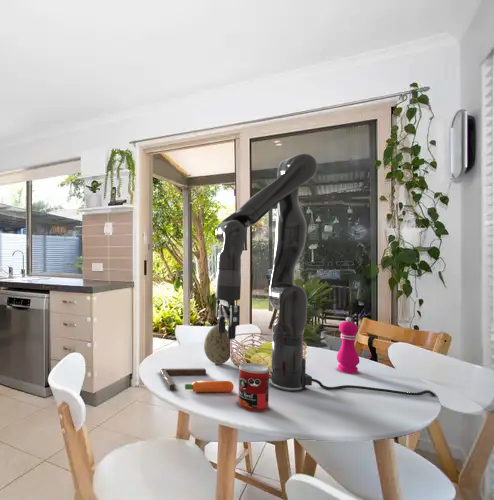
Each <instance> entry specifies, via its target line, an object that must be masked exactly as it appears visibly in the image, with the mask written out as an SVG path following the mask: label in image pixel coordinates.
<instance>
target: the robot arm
mask: <svg viewBox="0 0 494 500" xmlns="http://www.w3.org/2000/svg"><path fill="white" fill-rule="evenodd" d="M317 172H318V161H317V159H316V158H315V157H314V156H313V155H312V154H310V153H297V154H295V155H293V156H290V157H288V158H285V159H283V160H282V161H280V163H279V165H278V167H277V173H276V177H277V178H276V179H275V180H274V181H272V182H271V183H270V184H268V185H267V186H265V187H263V188H262V189H261V190H259V191H257V192H256V193H254V195H253V196H251V197H250V198H249V199H248V200H247V201H246V202H245V203H244V204H242V205H241V206H240V207H239V208H238V209H237V210H236V211H234V212H233V213H230V215H228V216H227V217H226V218H224V219H223V220H222V221H221V222H219V224H218V225H217V227H216V229H215V234H214V235H215V238H216V239H217V241H219V242H220V243H222V244H223V246H222V247H223V248H222V250H221V251H219V252H218V254H217V264H216V265H217V268H216V275H215V294H214V296H215V299H216V301H215V316H214V317H215V319H217V325H218V332H219V333H225V329H226V322H227V331H228V335H227V337H228V338H229V339H231V340H235V339H236V332H237V331H236V330H237V329H236V328H237V327H238V326H240V325H241V323H240V321H241V320H240V319H241V318H240V317H241V316H240V315H241V307H240V305H239V304H238V305H236V301H239V300H240V299H241V287H242V286H241V285H242V273H241V267H242V262H241V261H242V255H243V252H244V247H245V244H246V241H247V240H246V239H247V228H250V227H252V226H254V225H256V224H257V223H258V222H259V221H260V220H261V219H263V217H265V216H266V215H267V214H268V213H269V212H270V211H271V210H272V209H273V208H274V207H275V206H276V205H277V206H276V207H277V208H276V209H277V210H276V222H275V234H274V252H273V266H272V273H271V278H270V284H269V288H268V301H269V304H270V306H271V307H272V308H273V309H275V310H278V319H277V321H274V322H273V323H272V326H271V367H270V372H271V373H270V374H271V377H270V379H271V380H270V385H271V386H272V387H274V388H276V389H279V390H283V391H288V392H290V391H291V392H299V391H302V390H306V386H313V383H316V384H318V385H319V387H321V388H322V389H324V390H343V389H358V390H368V391H374V392H375V391H376V392H381V393H382V392H383V393H390V394H397V395H404V396H414V397H415V396H416V397H417V396H423V395H426V394H429V395H431V396H432V397H437V395H436V394H435V393H434V392H433V391H431V390H429V389H428V390H427V389H425V390H421V391H418V392H411V391H402V390H394V389H387V388H378V387H372V386H364V385H363V386H361V385H351V384H343V385H338V386H326V385H325V384H323V383H322V381H320V380H318V379H316V378H313V376H311V375H310V374H308V373H306V369H307V368H306V365H307V364H306V361H307V360H306V358H304V331H305V328H306V325H307V318H308V295H307V293H306V290H305V289H304V288H303V287H302V286H300V285H297V284H294V278H295V277H294V274H295V269H296V266H297V263H298V261H299V260H300V258H301V256H302V255H303V254H302V253H303V251H304V249H305V247H306V241H307V228H308V227H307V226H308V225H307V220H306V218H305V215H304V212H303V210H302V208H301V205H300V199H299V193H300V192H299V191H300V187H301V186H302V185H304V184H305V183H307V182H309V181H310V180H312V179H313V178H314V176H316V174H317ZM407 392H408V393H407ZM409 392H410V393H409Z"/></svg>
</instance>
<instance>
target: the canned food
mask: <svg viewBox="0 0 494 500" xmlns="http://www.w3.org/2000/svg"><path fill="white" fill-rule="evenodd" d="M269 391H270V369H269V367H268V366H266V365H263V364H259V363H254V362H245V363H244V362H243V363H241V364H239V367H238V404H239V406H240V407H241V408H243V409H244V410H248V411H251V412H263V411H266V410H267V409H268V408H269V394H270V392H269Z"/></svg>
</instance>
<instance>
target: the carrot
mask: <svg viewBox="0 0 494 500" xmlns="http://www.w3.org/2000/svg"><path fill="white" fill-rule="evenodd" d="M234 388H235V386H234V383H233V382H232V381H230V380H195V381H193V382H192V383H185V384H184V390H185V391H186V390H192V391H193V392H194V393H230V392H232V391H233V390H234Z"/></svg>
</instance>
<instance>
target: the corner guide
mask: <svg viewBox="0 0 494 500" xmlns="http://www.w3.org/2000/svg"><path fill="white" fill-rule="evenodd" d="M159 371H160V372H159V373H160V377H161V378H162V380H163V381H164V384H165V385H166V386H167V388H168V390H169V391H175V390H176V384H175V383H174V381H173V380H172V378H171V376H206V375H207V369H206V368H204V367H202V368H201V367H200V368H195V367H194V368H160V370H159Z"/></svg>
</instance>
